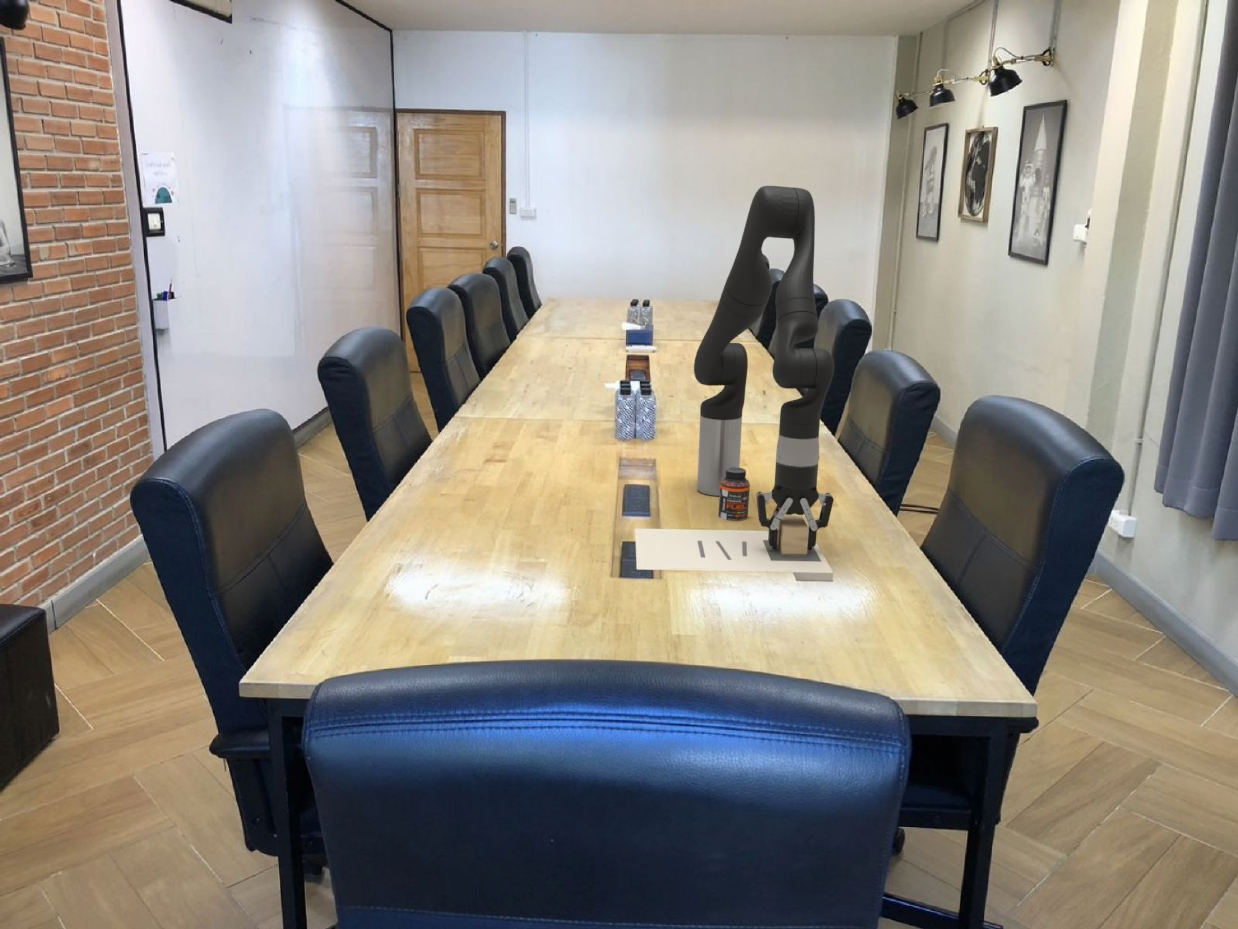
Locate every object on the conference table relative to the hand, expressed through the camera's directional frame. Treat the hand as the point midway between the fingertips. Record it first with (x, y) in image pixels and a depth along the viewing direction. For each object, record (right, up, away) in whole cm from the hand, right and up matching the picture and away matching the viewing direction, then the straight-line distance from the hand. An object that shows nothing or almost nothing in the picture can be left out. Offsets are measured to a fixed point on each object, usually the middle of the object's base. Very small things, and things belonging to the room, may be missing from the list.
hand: (791, 547), depth 187 cm
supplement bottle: (-8, +3, +20) cm, 22 cm away
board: (-12, -2, 0) cm, 12 cm away
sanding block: (0, -1, 0) cm, 1 cm away
